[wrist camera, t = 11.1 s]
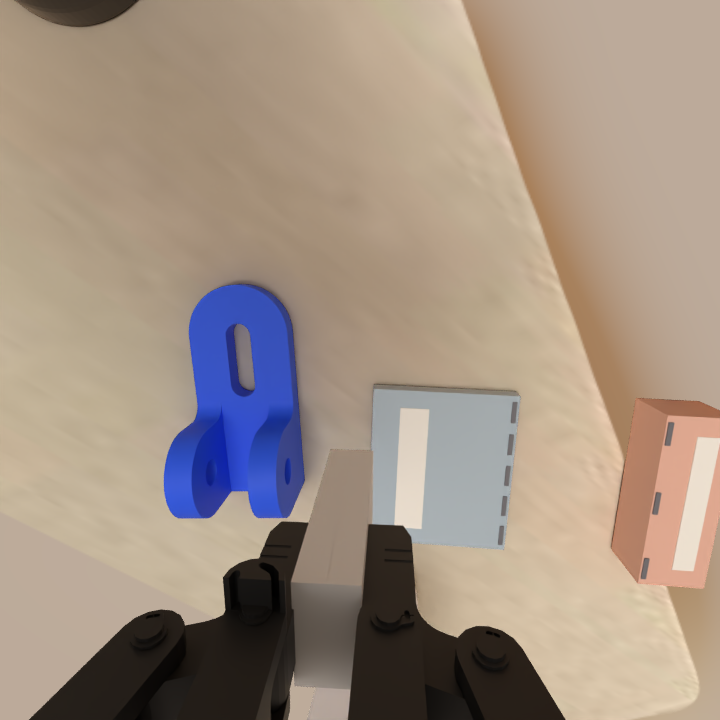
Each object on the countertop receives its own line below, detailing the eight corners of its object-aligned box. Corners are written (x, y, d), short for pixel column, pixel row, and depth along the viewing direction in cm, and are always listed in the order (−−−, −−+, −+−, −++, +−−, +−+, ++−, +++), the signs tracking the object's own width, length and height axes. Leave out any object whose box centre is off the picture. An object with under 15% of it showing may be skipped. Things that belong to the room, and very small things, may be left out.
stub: (635, 397, 37) (668, 415, 33) (699, 401, 37) (741, 419, 33) (611, 548, 40) (638, 584, 36) (669, 553, 40) (704, 589, 35)
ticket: (374, 384, 39) (373, 389, 38) (515, 391, 38) (521, 396, 37) (368, 530, 42) (367, 540, 40) (500, 539, 41) (504, 550, 40)
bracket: (305, 479, 42) (280, 536, 33) (217, 480, 42) (171, 536, 34) (289, 281, 38) (257, 285, 29) (194, 286, 39) (135, 292, 30)
